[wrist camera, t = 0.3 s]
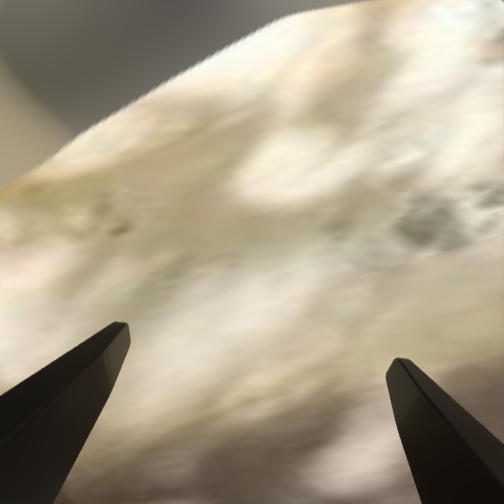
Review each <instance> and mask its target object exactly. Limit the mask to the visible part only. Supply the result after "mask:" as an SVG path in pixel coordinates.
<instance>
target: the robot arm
mask: <svg viewBox="0 0 504 504" xmlns="http://www.w3.org/2000/svg"><path fill="white" fill-rule="evenodd" d="M130 343H131V339H130V332H129V325H128V324H127V323H125V322H113V323H111V324H110V325H108V326H107V327H105V328H104V329H102V330H101V331H99V332H98V333H96V334H94V335H93V336H91V337H90V338H88V339H87V340H85V341H84V342H82V343H81V344H79V345H78V346H76V347H74V348H73V349H71V350H70V351H68V352H67V353H65V354H64V355H62V356H61V357H59V358H57V359H56V360H54V361H53V362H51V363H50V364H48V365H47V366H45V367H44V368H42V369H41V370H39V371H37V372H36V373H34V374H33V375H31V376H30V377H28V378H27V379H25V380H24V381H22V382H20V383H19V384H17V385H16V386H14V387H13V388H11V389H10V390H8V391H7V392H5V393H4V394H2V395H0V504H53V503H54V501H55V499H56V497H57V495H58V493H59V491H60V489H61V487H62V486H63V484H64V482H65V480H66V478H67V476H68V474H69V472H70V470H71V468H72V467H73V465H74V463H75V461H76V459H77V457H78V455H79V453H80V451H81V449H82V447H83V446H84V444H85V442H86V440H87V438H88V436H89V434H90V432H91V430H92V428H93V427H94V425H95V423H96V421H97V419H98V417H99V415H100V413H101V411H102V409H103V407H104V406H105V404H106V402H107V400H108V398H109V396H110V394H111V392H112V389H113V387H114V385H115V382H116V380H117V377H118V375H119V372H120V370H121V367H122V365H123V362H124V360H125V357H126V355H127V352H128V350H129V347H130ZM386 382H387V386H388V391H389V395H390V400H391V404H392V408H393V413H394V417H395V422H396V425H397V429H398V432H399V436H400V439H401V442H402V445H403V448H404V451H405V454H406V457H407V460H408V463H409V466H410V469H411V472H412V475H413V478H414V481H415V484H416V488H417V491H418V494H419V497H420V500H421V503H422V504H504V444H503V443H502V442H501V441H500V440H499V439H498V438H496V437H495V436H494V435H493V434H492V433H491V432H490V431H489V430H488V429H486V428H485V427H484V426H483V425H482V424H481V423H480V422H479V421H478V420H476V419H475V418H474V417H473V416H472V415H471V414H470V413H469V412H468V411H466V410H465V409H464V408H463V407H462V406H461V405H460V404H459V403H457V402H456V401H455V400H454V399H453V398H452V397H451V396H450V395H449V394H447V393H446V392H445V391H444V390H443V389H442V388H441V387H440V386H439V385H437V384H436V383H435V382H434V381H433V380H432V379H431V378H430V377H429V376H427V375H426V374H425V373H424V372H423V371H422V370H421V369H420V368H419V367H417V366H416V365H415V364H414V363H413V362H412V361H411V360H409V359H405V358H395V359H394V360H393V362H392V364H391V366H390V367H389V369H388V371H387V373H386Z"/></svg>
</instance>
